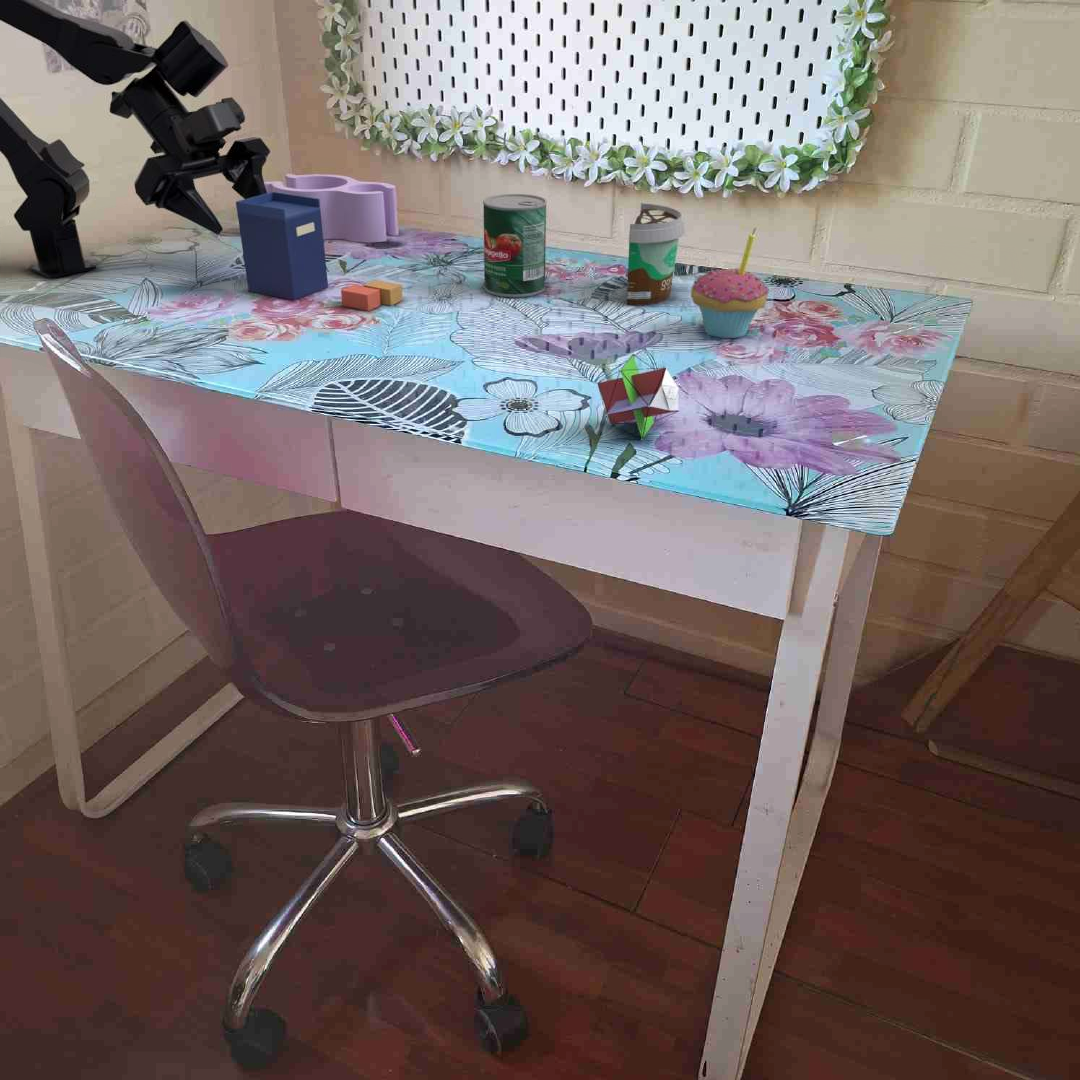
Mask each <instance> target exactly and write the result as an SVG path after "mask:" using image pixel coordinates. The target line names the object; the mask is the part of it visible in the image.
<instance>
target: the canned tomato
mask: <svg viewBox="0 0 1080 1080" xmlns="http://www.w3.org/2000/svg"><path fill="white" fill-rule="evenodd" d="M482 204H483V265H484V266H483V270H484V272H483V274H484V275H483V276H484V277H483V278H484V286H483V288H484V291H485V292H486V293H488V294H490V295H493V296H497V297H501V298H527V297H534V296H537V295H539V294H542V293H544V291H546V248H547V247H546V244H547V241H546V240H547V238H546V237H547V204H548V200H547V199H546V198H544V197H542V196H540V195H539V196H538V195H534V194H526V193H505V194H504V193H502V194H496V195H491V196H488V197H486V198H484V199H483V201H482Z"/></svg>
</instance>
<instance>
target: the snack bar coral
mask: <svg viewBox="0 0 1080 1080" xmlns="http://www.w3.org/2000/svg"><path fill="white" fill-rule="evenodd" d="M340 295H341V304H342V307H345V308H350V309H356V310H360V311H361V310H362V311H367V312H369V311H372V310H374V309H376V308H378V307H381V305H382V304H381V303H380V290H378V289H373V288H367V287H364V286H361V285H356V284H352V285H349V286H347V287H344V288H343V289H341V290H340Z"/></svg>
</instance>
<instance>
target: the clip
mask: <svg viewBox="0 0 1080 1080" xmlns="http://www.w3.org/2000/svg"><path fill="white" fill-rule="evenodd" d="M284 178H285V179H284V180H285V185H284V183H283V181H264V184H265V188H266V191H267V193H270V192H277V193H284V194H291V195H298V196H304V197H311V198H318V199H320V210H321V220H322V230H323V240H346V241H349V242H354V243H355V242H356V243H367V244H368V243H383V242H387V234H388V236H395V237H396V236H399V223H398V221H399V220H398V206H397V205H398V204H397V189H396V188H397V187H396V186H395V185H394V184H391V183H386V182H378V181H376V182H375V181H362V180H361V181H360V180H357V179H356V178H353V177H350V176H346V175H339V174H322V173H321V174H320V173H319V174H318V173H316V174H315V173H314V174H300V175H298V174H297V175H296V174H294V173H287V174H286V173H285V174H284Z"/></svg>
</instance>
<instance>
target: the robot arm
mask: <svg viewBox="0 0 1080 1080" xmlns="http://www.w3.org/2000/svg"><path fill="white" fill-rule="evenodd" d="M0 21H1V22H3V23H4V24H7V25H8V26H10V27H12V28H14V29H16V30H18V31H20V32H21V33H24V34H26V35H28V36H29V37H32V38H34V39H36V40H37V41H39V42H42V43H43V44H45V45H46V46H48V47H49V48H50V49H52V50H53V51H55V52H56V54H58V55H59V56H60V57H61V58H62V59H64V61H65V62H66V63H68V64H69V65H70V66H71V67H73V68H74V69H76V70H77V71H79V73H81V74H83V75H84V76H85V77H87V78H88V79H90V80H91V81H93V82H94V83H97V84H98V85H103V86H111V85H115V84H117V83H120V82H123V81H125V80H126V79H129V78H131V77H132V75H134V74H139V73H142V72H144V71H146V70H149V69H151V70H150V71H148V72H147V73H146V74H145V75H144V76H142V77H140V78H139V77H134V78H133V79H132V80H131V81H130V82H129V83H128V84H127V85H126V86H125V87H124V88H123V89H122V90H121V91H112V92H111V101H110V104H109V113H110V114H113V115H115V116H118V117H120V118H123V119H129V118H130V117H132V115H133V116H134V118H135V119H136V120H137V121H138V123H139V124H140V125H141V126H142V128H143V129H144V130H145V132H146V133H147V134H148V135H149V137H150V138H151V140H152V143H151V145H150V146H149V148H150V150H151V151H152V152H153V154H154V155H156V156H151V157H147V159H146V161H145V162H144V164H143V166H142V168H141V169H140V171H139V174H138V175H137V177H136V179H135V181H134V185H133V186H134V190H135V195H137V196H138V198H139V199H140V200H141V201H142V204H144V206H150V205H151V206H152V205H154V206H155V208H156V209H164V210H167V211H169V212H171V213H173V214H176V215H177V216H180V217H182V218H184V219H186V220H188V221H190V222H192V223H194V224H196V225H198V226H200V227H202V228H204V229H205V230H207V231H210V232H211V233H213V234H215V235H220V234H221V233H222V231H223V229H224V228H223V226H222V224H221V223H220V221H219V220H218V218H217V217H216V215H215V214H214V212H213V211H212V210H211V208H210V207H209V206H208V204H207V202H206V201H205V200H204V199H203V197H202V196H201V194H200V193H199V192H198V190H197V188H196V184H195V180H198V179H202V178H206V177H211V176H215V175H218V174H222V176H223V177H224V178H225V180H226V181H228V182H230V183H232V186H231V190H233V191H235V193H237V194H238V196H240V197H242V198H243V200H244V199H248V198H252V197H255V196H259V195H263V194H267V191H266V188H265V184H264V182H265V181H264V177H263V167H264V165H265V163H266V162H267V158H268V157H269V155H270V154H271V151H270V148H269V147H268V146H267V144H266V143H265V142H264V140H263V139H262V138H261V137H256V136H255V137H254V136H251V137H247V138H242V139H237V140H236V139H235V140H234V141H233V143H232V145H231V146H230V148H229V149H228V151H227V153H226V154H222V155H221V154H220V152H219V151H220V150H221V149H223V148H224V147H225V145H226V144H227V141H226V140H225V139H224V138H225V137H227V136H228V135H230V134H231V133H233V132H239V131H240V130H241V129H242V126H241V124H243V123H245V121H246V116H245V113H244V110H243V108H242V107H241V105H240V104H239V103H238V102H237V101H236V99H234V98H233V96H231V97H230V96H229V97H224V98H223V97H222V99H221V100H220V101H217V102H215V103H213V104H212V103H211V104H208V105H205V106H202V107H200V108H199V109H197V110H193V111H189V110H188V109H187V107H186V106H185V105H184V104H183V103H182V101H181V100H180V98H179V97H178V96H177V94H178V95H179V96H181V97H186V96H187V95H190V96H191V97H194V98H198V97H199V96H200V95H201V94H202V93H203V92H204V91H205V90H206V89H207V88H208V87H209V86H210V85H211V84H212V83H213V82H215V80H216V79H217V78H218V77H219V76H220V75H221V74H222V73H223V72H224V71H225V70H226V69H227V68H228V67H229V63H228V61H227V60H226V57H225V56H224V55H223V53H222V52H221V51H220V49H219V48H218V47H217V46H216V45H215V44H214V43H213V41H212V40H211V39H207V38H206V36H204V35H203V33H201V31H198V29H196V28H194V27H193V26H192V25H191V23H189V21H188V20H186V19H185V20H182V21H181V20H180V22H179V23H178V24H177V25H176V26H174V28H173V29H172V33H170V35H169V36H168V37H167V38H166V39H165V40H164V41H163V42H162V43H161V44H160V45H159V46H158V47H157V48H155V47H153V46H151V45H150V46H149V45H145V44H141V43H137V42H134V40H133V39H132V38H131V37H130V35H128V34H127V33H125V32H124V31H122V30H119V29H117V28H114V27H111V26H108V25H105V24H102V23H99V22H96V21H93V20H89V19H87V18H82V17H79V16H74V15H72V14H68V13H65V12H63V11H61V10H59V9H57V8H55V7H54V6H52V5H50V4H48V3H46V2H44V1H42V0H0ZM175 92H176V93H177V94H176V93H175ZM0 153H1V154H2V155H3V156H4V158H5V159H6V161H7V162H8V165H9V167H10V170H11V171H12V173H13V175H14V179H15V180H16V182H17V184H18V186H19V187H20V188H21V190H22V191H23V193H24V194H25V195H26V198H25V199H24V200H23V202H22V203H21V204H20V205H19V207H18V208H17V210H15V212H14V213H13V217H14V219H15V221H16V223H17V224H18V226H19V227H20V229H21V230H22V231H23V232H29V235H30V239H31V241H32V246H33V250H34V254H35V255H34V256H35V258H36V261H37V262H36V263H34V264H29V265H28V266H27V268H28V270H29V271H31V272H33V273H37V274H39V275H41V276H44V277H46V278H48V279H55V278H56V279H57V278H60V277H64V276H70V275H74V274H79V273H83V272H88V271H92V270H96V269H97V268H98V267H97V264H95V263H92V262H90V261H88V260H85V257H84V253H83V249H82V248H83V247H82V243H81V240H80V236H79V231H78V227H77V222H76V220H75V219H74V218H75V217H78V216H79V215H80V212H81V205H82V204H83V203H84V202H85V201H86V199H87V198H88V197H89V193H90V192H91V191H90V179H89V176H88V175H87V173H86V171H85V170H84V169H83V168H84V167H85V163H84V162H82V161H80V160H78V159H77V158H76V157H75V155H73V154H72V153H71V151H70V150H69V148H68V146H67V145H66V144H65V143H64V142H63V141H62V140H61V139H59V138H58V139H56V140H54V141H52V142H50V143H48V141H45V140H43V139H42V138H40V137H39V136H37V135H36V134H35V133H34V132H33V131H31V130H30V128H29V127H28V126H27V125H26V124H25V123H24V122H23V120H21V118H19V116H18V115H17V114H16V113H15V111H13V110H12V108H10V106H9V105H8V104H7V103H6V102H5V101H4V100H3V99H2V97H0ZM157 154H161V155H157Z"/></svg>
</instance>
